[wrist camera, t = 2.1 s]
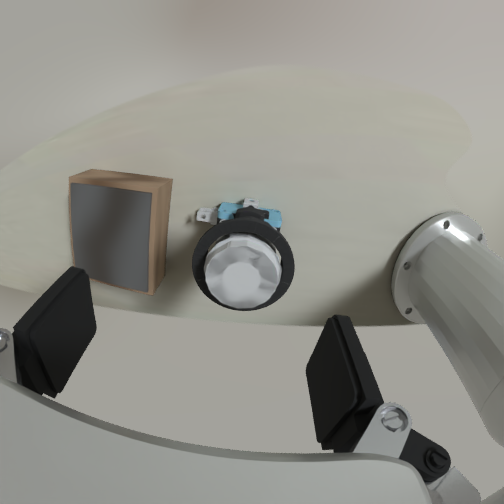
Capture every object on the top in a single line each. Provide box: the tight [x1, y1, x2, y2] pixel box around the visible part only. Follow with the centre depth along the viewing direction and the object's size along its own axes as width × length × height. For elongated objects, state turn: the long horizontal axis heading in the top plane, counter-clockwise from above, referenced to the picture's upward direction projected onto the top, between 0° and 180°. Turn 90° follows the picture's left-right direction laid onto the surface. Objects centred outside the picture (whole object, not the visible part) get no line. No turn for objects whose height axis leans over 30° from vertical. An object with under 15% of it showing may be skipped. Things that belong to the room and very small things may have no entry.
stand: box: [69, 169, 173, 296], centre depth 22 cm, size 8×9×4 cm
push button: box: [192, 198, 294, 311], centre depth 18 cm, size 7×5×10 cm
